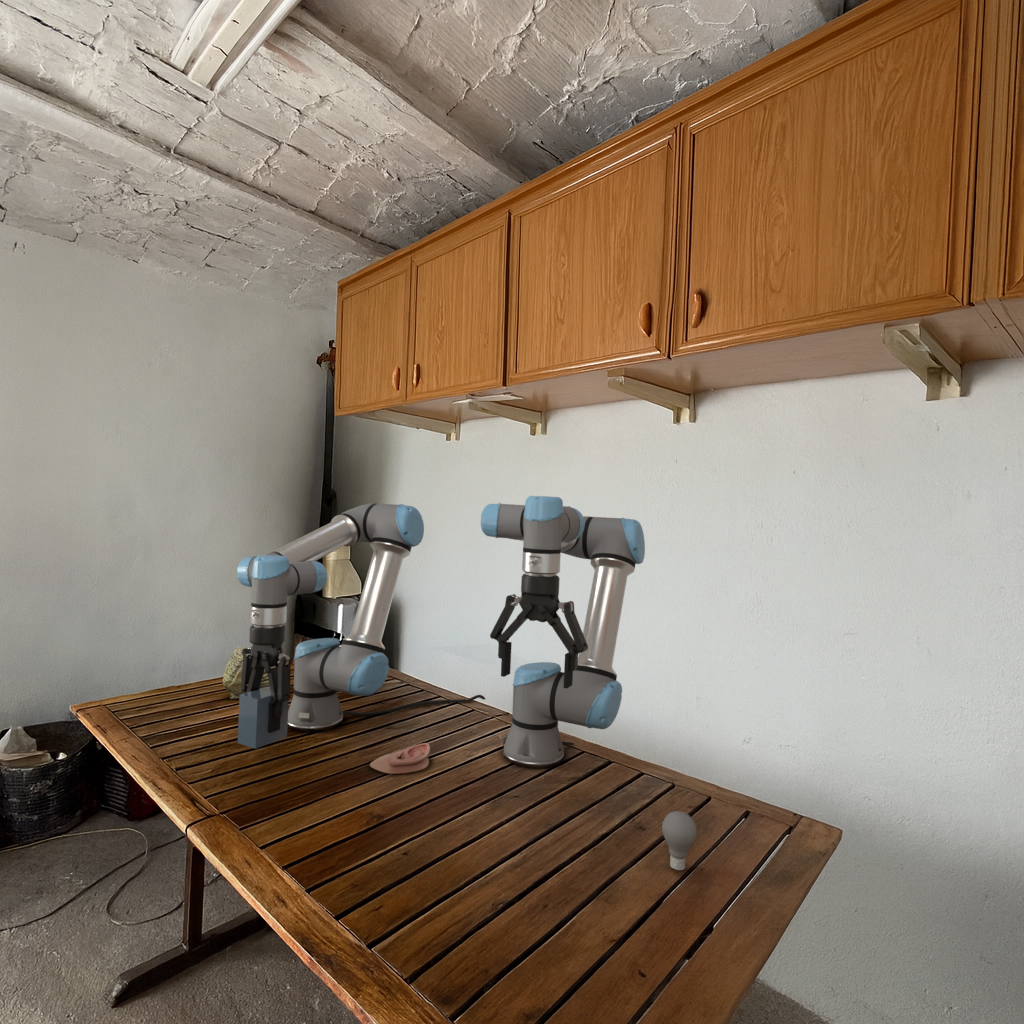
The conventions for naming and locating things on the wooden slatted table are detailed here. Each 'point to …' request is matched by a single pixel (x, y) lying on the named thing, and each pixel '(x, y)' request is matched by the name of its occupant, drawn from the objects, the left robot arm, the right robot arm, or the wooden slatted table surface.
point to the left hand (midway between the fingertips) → (263, 727)
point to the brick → (259, 719)
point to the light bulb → (679, 837)
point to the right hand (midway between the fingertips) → (535, 680)
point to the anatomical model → (404, 760)
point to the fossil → (238, 674)
